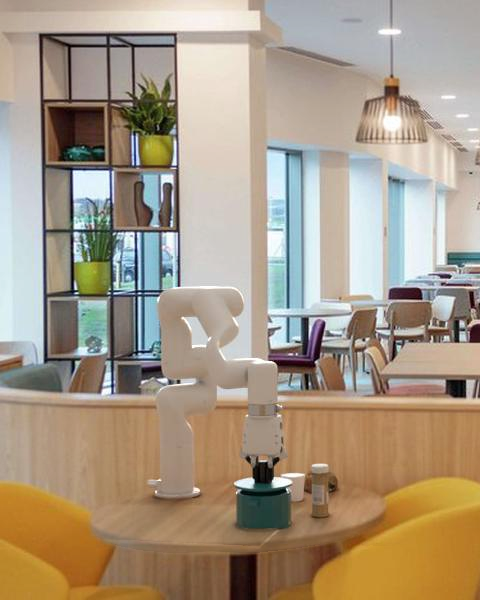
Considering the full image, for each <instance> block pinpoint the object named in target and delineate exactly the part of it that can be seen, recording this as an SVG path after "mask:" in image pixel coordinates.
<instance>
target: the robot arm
mask: <svg viewBox="0 0 480 600" xmlns="http://www.w3.org/2000/svg"><path fill="white" fill-rule="evenodd" d="M244 309H245V300H244V297H243V295H242V293H241V291H239V290H238V289H237V288H235V287H234V286H177V287H170V288H166V289H164V290H163V291H162V292H160V294H159V296H158V298H157V302H156V314H157V318H158V322H159V327H160V335H161V337H160V346H161V347H160V349H161V351H160V354H161V355H160V356H161V357H160V361H161V362H160V363H161V364H160V365H161V372H162V376H163V377H164V378H165V379H167V380H171V381H172V380H173V381H176V380H177V381H178V380H191V379H192V380H193V379H194V380H195V382H189V383H175V384H170V385H165V386H163V387H161V388H160V389H159V390H158V391H157V393H156V396H155V407H156V411H157V417H158V426H159V478H158V479H148V480H147V481H146V486H147V488H149V489H150V488H152V489H153V488H155V489H156V490H155V491H154V497H158V498H163V499H185V498H188V499H189V498H190V499H191V498H196V497H198V496H199V495H200V494H201V490H200V488H198V487H195V435H194V434H195V433H194V430H193V428H192V426H191V425H190V423H189V422H188V421H187V418H192V417H197V416H199V417H200V416H207V415H210V414H212V413H213V412H214V411H215V409H216V407H217V402H218V387H219V388H220V389H222V390H235V389H247V414H246V415H245V417H244V422H243V427H242V428H243V430H242V439H241V447H240V450H239V452H238V457H240V459H243V460H245V461H246V462H247V463H248V464H249V465H250V467H251V469H252V477H253V479H254V483H258V461H260V460H259V458H260V456H262V457H263V456H265V457H267V461H268V468H266V483H267V484H269V483H271V482H272V480H273V479H274V477H275V466H276V465H277V464H278V463H279V462H280V461H283V460H286V458H288V456H289V455H288V452H287V450H286V448H285V447H286V446H285V445H286V443H285V431H284V430H285V429H284V424H283V423H284V422H283V417H282V415H281V414H279V413H280V412H284V406H283V405H280V404H279V400H278V399H279V398H278V396H279V395H278V394H279V393H278V391H279V389H278V388H279V385H278V383H279V380H278V377H279V376H278V375H279V374H278V371H279V370H278V365H277V363H276V362H274V361H270V360H263V359H262V358H257V357H249V358H233V359H232V358H231V359H226V358H225V356H224V355H223V353H222V351H221V349H222V348H224V347H225V346H227V345H229V344H231V343H232V342H233V341H234V340H235V339H236V338H237V337H238V334H239V332H240V326H239V324H238V323H237V320H236V319H235V318H237V317H239V316H240V315H241V314H242V313H243V311H244ZM186 318H197V320H198V322H199V324H200V326H201V328H202V330H203V331H204V333H205V335H206V337H207V338H208V340H207V342H206V344H194V345H193V342H192V341H193V331H192V327H191V326H190V324H189V322H188V321H187V320H186Z"/></svg>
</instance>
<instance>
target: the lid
mask: <svg viewBox="0 0 480 600" xmlns="http://www.w3.org/2000/svg"><path fill="white" fill-rule="evenodd" d="M266 468H268V459H261V460H259V461H258V483H254V479H253V476H252V477H247V478H245V477H244V478H241V479H238V480H236V481H234V483H233V486H234V488H235V489H237V490H239V489H241V490H246V491H253V492H269V491H276V490H280V489H285V488H288V487H290V486H291V485H292V481H291V480H289V479H286V478H281V476H280V477H279V476H274V479H273V480H272V482H271V483H269V484H267V483H266Z"/></svg>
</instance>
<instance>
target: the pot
mask: <svg viewBox="0 0 480 600" xmlns="http://www.w3.org/2000/svg"><path fill="white" fill-rule="evenodd" d="M235 523H236V526H238V527H241V528H244V529H245V528H246V529H253V530H266V529H268V530H269V529H276V530H282V529H285V528H287V527H289V526H291V523H292V501H291V490H290V489H289V488H285V489H280V490H276V491H269V492H253V491H246V490H241V489H237V490H236V491H235Z"/></svg>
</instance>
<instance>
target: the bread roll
mask: <svg viewBox="0 0 480 600" xmlns="http://www.w3.org/2000/svg"><path fill="white" fill-rule="evenodd" d="M338 486H339V481H338V478H337V476H336V474H335V473H334V472H332V471H331V470H330V469H329V472H328V493H330V492H332V491H335V490H336V489H338ZM304 490H305V491H306V492H309V493H312V472H311V470H310V471H308V472H307V473H305V481H304Z"/></svg>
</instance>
